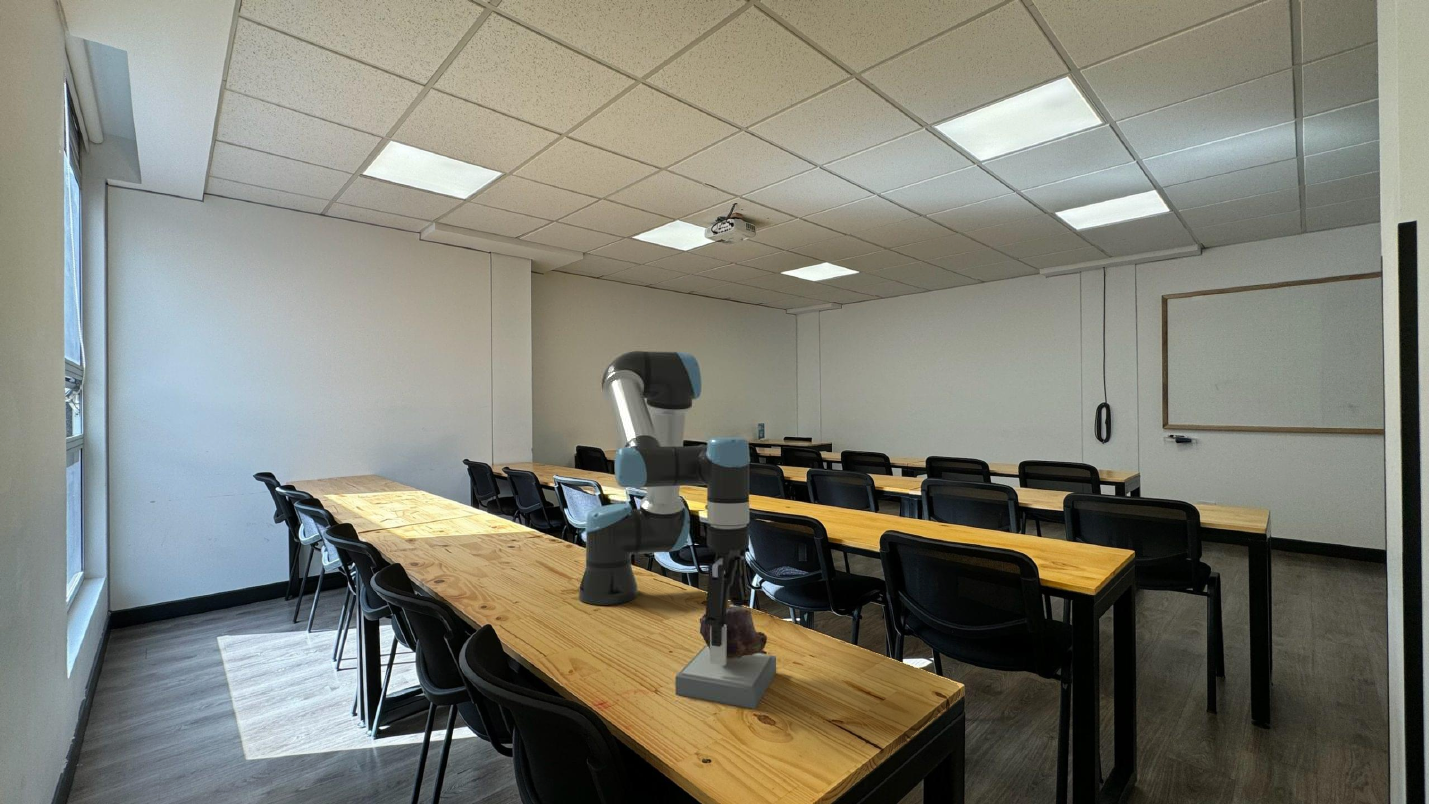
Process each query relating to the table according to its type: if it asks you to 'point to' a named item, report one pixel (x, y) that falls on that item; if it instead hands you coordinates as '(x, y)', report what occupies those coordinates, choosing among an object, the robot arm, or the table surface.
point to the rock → (738, 634)
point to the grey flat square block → (727, 679)
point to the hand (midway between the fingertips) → (727, 651)
